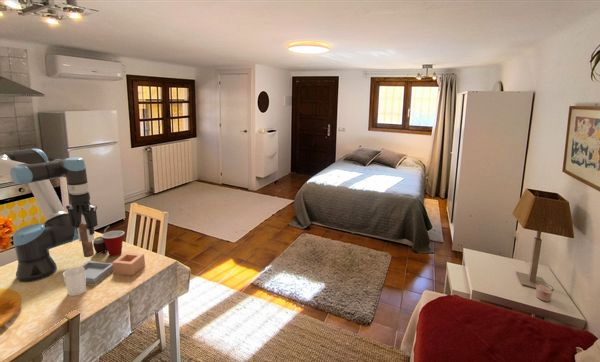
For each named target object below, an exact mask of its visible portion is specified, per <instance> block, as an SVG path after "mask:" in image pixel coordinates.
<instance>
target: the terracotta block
mask: <svg viewBox="0 0 600 362" xmlns="http://www.w3.org/2000/svg"><path fill="white" fill-rule="evenodd" d="M111 263H112V264H113V271H112V272H113V274H116V275H124V276H125V275H127V276H128V275H130V276H134V275H135V274H136V273H138V272H139V271H140V270H141V269H142V268H143V267H144V266H146V261H145V254H144V253H135V252H124V253H123V254H120V255H119V257H118V258H116V259H115V260H113V261H112V262H111Z"/></svg>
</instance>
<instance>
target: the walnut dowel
mask: <svg viewBox="0 0 600 362" xmlns="http://www.w3.org/2000/svg"><path fill="white" fill-rule="evenodd" d="M87 228H88V227H87V224H86V221H83V222H82V221H81V223H80V224H79V229H80V235H81V241H80V242H81V245H82V252H83V257H84V258H91V257H93V256H94V255H95V250H94V246H93V241H91V242H88V236H87V230H86V229H87Z"/></svg>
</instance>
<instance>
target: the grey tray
mask: <svg viewBox="0 0 600 362" xmlns="http://www.w3.org/2000/svg"><path fill="white" fill-rule="evenodd" d="M79 267H84V268H85V275H86V285H96V284H97V283H99V282H101V280H103V279H104V278H106V277H107V276H109V274H111V273H113V272H114V271H113V264H112V262H104V261H103V262H102V261H93V260H87V261H86V262H85V263H83V264H82V265H80V266H79Z"/></svg>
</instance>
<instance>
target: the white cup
mask: <svg viewBox="0 0 600 362" xmlns="http://www.w3.org/2000/svg"><path fill="white" fill-rule="evenodd" d="M62 277H63V281H64V285H65V289H66V290H67V295H68V296H70V297H75V296H80V295H82V294H83V293H85V292H86V291H87V284H86V275H85V268H84V267H80V266H74V267H71V268H67V269H66V270H65V271H63V273H62Z"/></svg>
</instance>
